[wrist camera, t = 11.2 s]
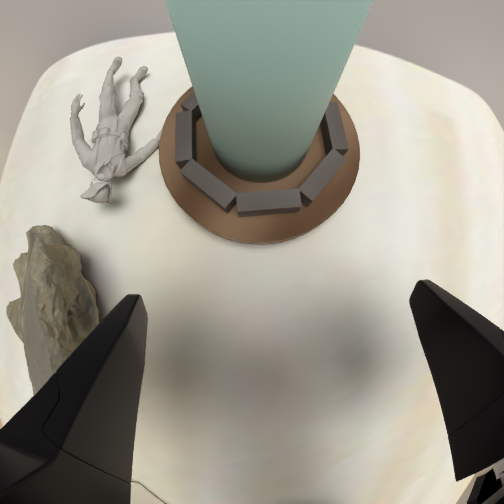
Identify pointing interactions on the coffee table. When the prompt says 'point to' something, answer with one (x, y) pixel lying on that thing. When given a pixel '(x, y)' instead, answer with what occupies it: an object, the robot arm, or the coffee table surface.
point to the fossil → (51, 303)
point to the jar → (142, 495)
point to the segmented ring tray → (257, 194)
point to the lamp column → (265, 74)
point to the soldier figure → (110, 136)
